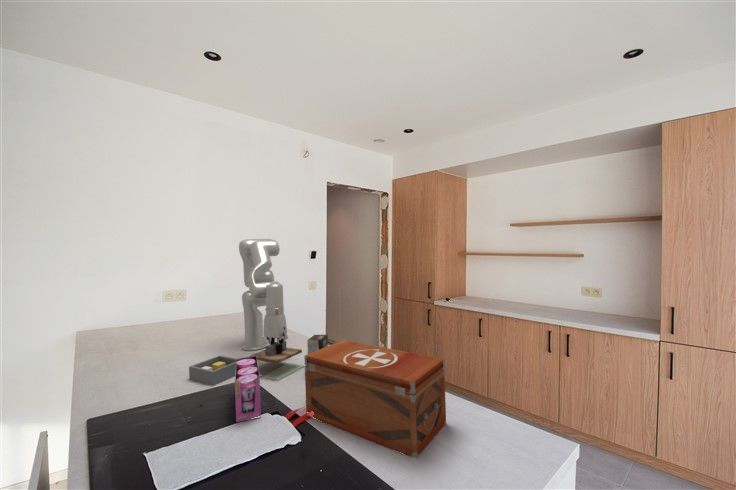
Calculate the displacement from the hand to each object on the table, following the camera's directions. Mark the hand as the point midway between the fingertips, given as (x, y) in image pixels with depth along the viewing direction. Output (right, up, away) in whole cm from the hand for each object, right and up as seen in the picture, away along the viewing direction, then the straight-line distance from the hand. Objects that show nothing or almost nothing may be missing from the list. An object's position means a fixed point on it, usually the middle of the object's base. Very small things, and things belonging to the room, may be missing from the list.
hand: (276, 351), depth 150 cm
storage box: (-24, -9, -7) cm, 26 cm away
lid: (0, -2, 0) cm, 2 cm away
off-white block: (-28, -8, -8) cm, 30 cm away
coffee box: (+20, -8, -6) cm, 22 cm away
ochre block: (-24, -8, -3) cm, 26 cm away
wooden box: (+43, -8, -44) cm, 62 cm away
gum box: (-1, -9, -31) cm, 33 cm away
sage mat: (0, -8, 0) cm, 8 cm away
